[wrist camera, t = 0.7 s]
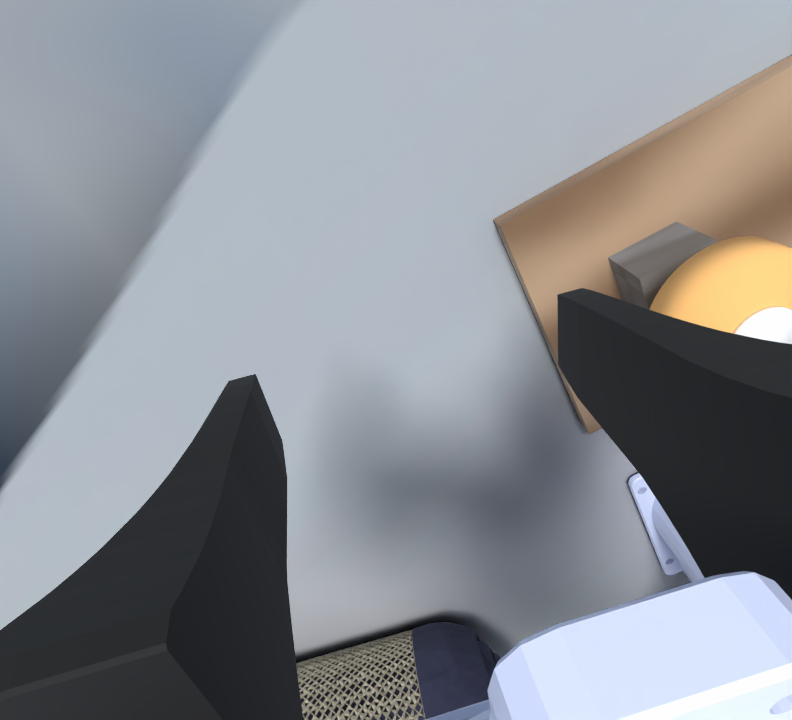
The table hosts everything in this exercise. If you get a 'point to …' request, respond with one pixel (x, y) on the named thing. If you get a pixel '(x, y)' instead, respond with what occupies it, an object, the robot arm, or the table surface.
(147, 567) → the robot arm
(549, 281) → the wooden fixture board
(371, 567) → the table surface
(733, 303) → the wheel
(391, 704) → the portable speaker
